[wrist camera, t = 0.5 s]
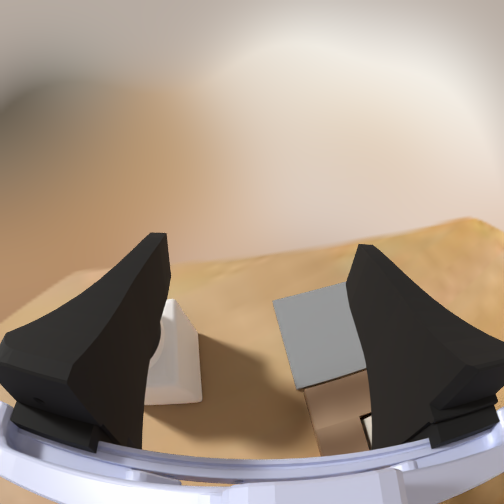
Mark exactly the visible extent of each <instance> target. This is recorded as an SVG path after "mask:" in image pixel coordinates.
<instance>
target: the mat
mask: <svg viewBox="0 0 504 504" xmlns="http://www.w3.org/2000/svg"><path fill="white" fill-rule="evenodd" d="M273 306H274V309H275V313H276V316H277V320H278V324H279V327H280V331H281V334H282V338H283V342H284V345H285V349H286V353H287V356H288V360H289V364H290V367H291V371H292V375H293V378H294V382H295V386H296V389H297V390H298V389H302V388H306V387H309V386H313V385H316V384H320V383H323V382H327V381H330V380H333V379H337V378H340V377H343V376H346V375H349V374H352V373H355V372H358V371H361V370H364V369H366V362H365V358H364V354H363V350H362V347H361V343H360V340H359V337H358V333H357V330H356V327H355V323H354V320H353V317H352V314H351V310H350V307H349V302H348V296H347V290H346V282H343V283H339V284H335V285H332V286H328V287H324V288H321V289H317V290H313V291H309V292H305V293H301V294H298V295H294V296H290V297H286V298H282V299H278V300H274V301H273Z"/></svg>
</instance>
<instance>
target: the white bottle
mask: <svg viewBox="0 0 504 504" xmlns="http://www.w3.org/2000/svg"><path fill="white" fill-rule="evenodd" d="M201 401H202V386H201V373H200V359H199V343H198V332H197V331H196V329H195V328H194V326H193V325H192V323H191V322H190V320H189V319H188V318H187V316H186V315H185V313H184V312H183V310H182V309H181V307H180V306H179V304H178V303H177V301H176V300H174V299H168V300H167V301H166V304H165V307H164V311H163V314H162V317H161V321H160V324H159V327H158V331H157V334H156V337H155V341H154V344H153V348H152V352H151V357H150V363H149V369H148V376H147V384H146V392H145V401H144V405H165V404H183V403H196V402H201Z"/></svg>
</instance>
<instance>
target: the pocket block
mask: <svg viewBox="0 0 504 504" xmlns="http://www.w3.org/2000/svg"><path fill="white" fill-rule="evenodd" d="M304 396H305V400H306V404H307V407H308V411H309V415H310V418H311V422H312V425H313V429H314V433H315V436H316V440H317V444H318V447H319V451H320V455H321V457H323V456H333V455H342V454H349V453H357V452H363V451H369V447H368V444H367V440H366V437H365V434H364V430H363V427H362V424H361V420H360V417H361V416H364V415H366V414H369V413H371V401H370V391H369V382H368V375H367V370H365V371H362V372H359V373H356V374H353V375H350V376H347V377H344V378H341V379H338V380H335V381H331V382H328V383H325V384H321V385H318V386H315V387H311V388H307V389H305V390H304Z"/></svg>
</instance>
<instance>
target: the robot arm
mask: <svg viewBox="0 0 504 504" xmlns="http://www.w3.org/2000/svg"><path fill="white" fill-rule="evenodd" d="M170 279H171V271H170V262H169V253H168V244H167V234H166V233H150V234H149V235H147V236H146V237H145V238H144V239H143V240H142V241H141V242H140V243H139V244H138V245H137V246H136V247H135V248H134V249H133V250H132V251H131V252H130V253H129V254H128V255H127V256H125V257H124V258H123V259H122V260H121V261H120V262H119V263H118V264H117V265H116V266H115V267H113V268H112V269H111V270H110V271H109V272H108V273H106V274H105V275H104V276H103V277H102V278H101V279H99V280H98V281H97V282H96V283H94V284H93V285H92V286H91V287H89V288H88V289H86V290H85V291H84V292H82V293H81V294H80V295H78V296H77V297H75V298H73V299H72V300H70V301H69V302H67V303H66V304H64V305H62V306H61V307H59V308H58V309H56V310H54V311H52V312H50V313H49V314H47V315H45V316H43V317H41V318H39V319H37V320H35V321H33V322H31V323H29V324H27V325H24V326H22V327H20V328H17V329H15V330H13V331H10V332H7V333H6V334H5V336H4V338H3V340H2V342H1V344H0V384H1V385H2V386H3V387H4V388H5V389H6V390H7V391H8V392H9V394H10V395H11V396H12V397H13V398H14V399H15V400H16V401H17V402H16V404H15V407H14V408H13V407H11V406H10V405H8V404H6V403H4V402H2V401H0V476H1V477H3V478H4V479H6V480H8V481H10V482H12V483H14V484H16V485H18V486H20V487H22V488H24V489H26V490H28V491H31V492H33V493H35V494H37V495H40V496H42V497H44V498H47V499H49V500H51V501H54V502H56V503H59V504H438V503H440V502H443V501H445V500H448V499H450V498H452V497H455V496H457V495H459V494H462V493H464V492H466V491H468V490H470V489H472V488H475V487H477V486H479V485H481V484H483V483H485V482H487V481H488V480H490V479H492V478H494V477H496V476H498V475H500V474H501V473H503V472H504V407H502V408H500V409H498V410H497V411H496V409H495V407H494V404H496V403H497V402H498V399H497V397H496V393H497V392H498V391H499V390H500V389H501V388H502V387H503V386H504V342H503V341H501V340H499V339H496V338H494V337H492V336H490V335H488V334H486V333H484V332H482V331H481V330H479V329H477V328H475V327H473V326H472V325H470V324H468V323H467V322H465V321H464V320H462V319H461V318H459V317H458V316H456V315H454V314H453V313H452V312H450V311H449V310H447V309H446V308H445V307H443V306H442V305H441V304H439V303H438V302H437V301H435V300H434V299H433V298H432V297H431V296H429V295H428V294H427V293H426V292H425V291H423V290H422V289H421V288H420V287H419V286H418V285H417V284H415V283H414V282H413V281H412V280H411V279H410V278H409V277H408V276H407V275H406V274H405V273H403V272H402V271H401V270H400V269H399V268H398V267H397V266H396V265H395V264H394V263H393V262H392V261H391V260H390V259H389V258H388V257H386V256H385V255H384V254H383V253H382V252H381V251H380V250H379V249H377V248H376V247H375V246H374V245H365V244H359V245H358V248H357V251H356V254H355V257H354V260H353V264H352V267H351V270H350V273H349V276H348V278H347V281H346V290H347V296H348V302H349V307H350V310H351V314H352V317H353V320H354V323H355V327H356V330H357V333H358V337H359V340H360V343H361V347H362V350H363V354H364V358H365V362H366V369H367V375H368V382H369V391H370V401H371V418H372V450H369V451H363V452H357V453H349V454H342V455H333V456H323V457H311V458H296V459H266V460H251V459H220V458H205V457H193V456H184V455H175V454H167V453H160V452H153V451H147V450H142V428H143V413H144V401H145V392H146V384H147V376H148V369H149V363H150V357H151V352H152V348H153V344H154V341H155V337H156V334H157V331H158V327H159V324H160V321H161V317H162V314H163V311H164V307H165V304H166V301H167V296H168V291H169V285H170ZM175 479H177V480H175ZM179 480H186V481H196V482H208V483H225V484H239V485H233V486H230V487H206V486H182V485H181V482H180V481H179Z"/></svg>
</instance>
